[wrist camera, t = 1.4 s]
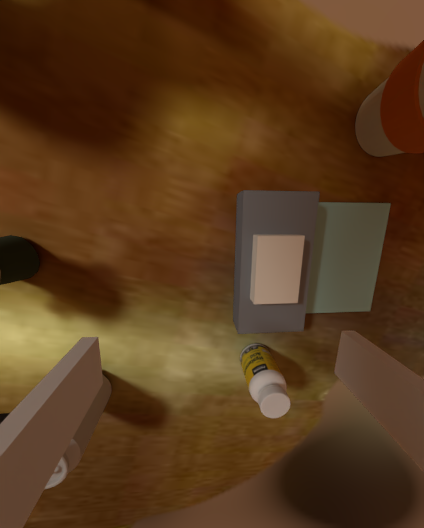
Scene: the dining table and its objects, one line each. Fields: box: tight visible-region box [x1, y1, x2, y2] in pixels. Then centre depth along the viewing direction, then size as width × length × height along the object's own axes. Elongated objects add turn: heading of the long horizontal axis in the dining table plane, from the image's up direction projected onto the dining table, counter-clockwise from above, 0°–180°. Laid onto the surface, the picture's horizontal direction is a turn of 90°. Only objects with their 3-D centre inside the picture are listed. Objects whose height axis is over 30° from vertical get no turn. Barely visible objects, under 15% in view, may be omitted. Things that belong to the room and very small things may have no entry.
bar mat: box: [306, 202, 391, 313], centre depth 33 cm, size 18×14×1 cm
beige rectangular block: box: [250, 235, 305, 304], centre depth 27 cm, size 9×6×2 cm, turn 0°
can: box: [44, 374, 112, 489], centre depth 28 cm, size 8×8×12 cm
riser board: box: [233, 190, 320, 334], centre depth 30 cm, size 20×10×4 cm, turn 0°
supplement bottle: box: [240, 344, 290, 418], centre depth 31 cm, size 5×5×10 cm
